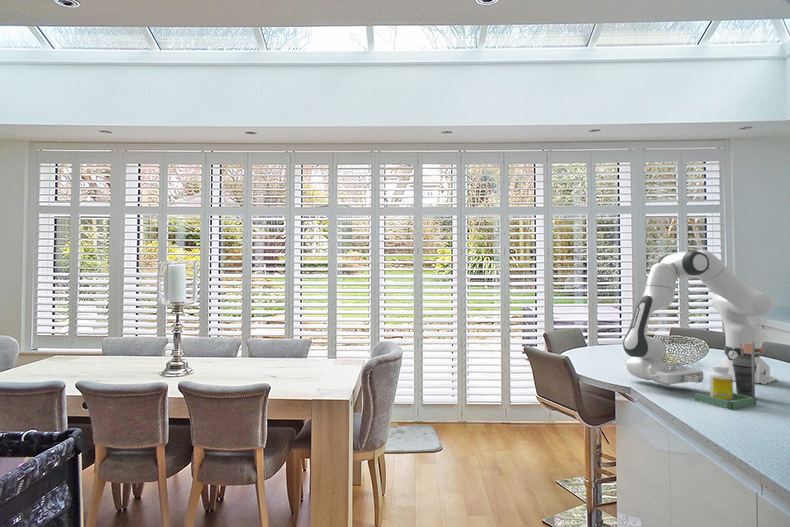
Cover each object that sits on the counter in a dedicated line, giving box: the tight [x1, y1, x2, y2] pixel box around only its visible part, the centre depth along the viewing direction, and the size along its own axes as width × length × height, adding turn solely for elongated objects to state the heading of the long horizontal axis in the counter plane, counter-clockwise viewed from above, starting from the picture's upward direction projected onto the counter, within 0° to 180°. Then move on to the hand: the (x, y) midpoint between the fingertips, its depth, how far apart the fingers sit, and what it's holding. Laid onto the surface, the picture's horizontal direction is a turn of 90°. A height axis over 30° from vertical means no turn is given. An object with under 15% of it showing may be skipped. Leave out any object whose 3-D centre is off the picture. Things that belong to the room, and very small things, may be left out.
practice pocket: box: [694, 342, 757, 410], centre depth 165 cm, size 14×12×22 cm
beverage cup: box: [733, 343, 756, 397], centre depth 174 cm, size 7×7×20 cm
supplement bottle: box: [709, 364, 734, 401], centre depth 166 cm, size 7×7×13 cm
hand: (700, 380), depth 173 cm, fingers closed
